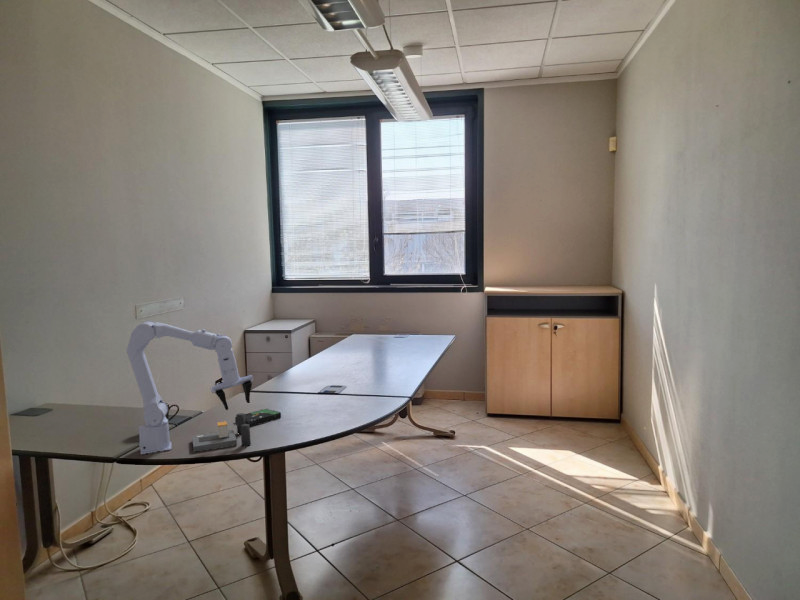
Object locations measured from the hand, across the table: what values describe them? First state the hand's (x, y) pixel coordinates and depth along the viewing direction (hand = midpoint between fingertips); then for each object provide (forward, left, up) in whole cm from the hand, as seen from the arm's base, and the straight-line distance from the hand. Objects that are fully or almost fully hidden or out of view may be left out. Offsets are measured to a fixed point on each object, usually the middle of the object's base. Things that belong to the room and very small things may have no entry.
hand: (237, 405), depth 191 cm
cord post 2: (+1, -7, -12) cm, 14 cm away
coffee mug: (-26, +25, -12) cm, 38 cm away
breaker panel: (-9, 0, -12) cm, 15 cm away
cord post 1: (+1, +7, -12) cm, 14 cm away
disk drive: (+9, +20, -13) cm, 25 cm away
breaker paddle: (-6, 0, -10) cm, 11 cm away
